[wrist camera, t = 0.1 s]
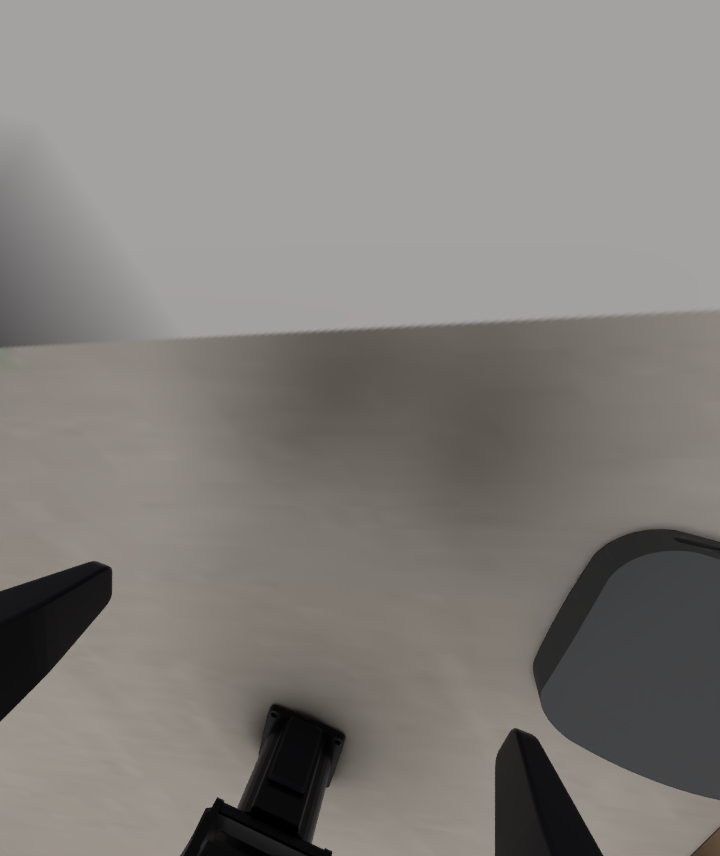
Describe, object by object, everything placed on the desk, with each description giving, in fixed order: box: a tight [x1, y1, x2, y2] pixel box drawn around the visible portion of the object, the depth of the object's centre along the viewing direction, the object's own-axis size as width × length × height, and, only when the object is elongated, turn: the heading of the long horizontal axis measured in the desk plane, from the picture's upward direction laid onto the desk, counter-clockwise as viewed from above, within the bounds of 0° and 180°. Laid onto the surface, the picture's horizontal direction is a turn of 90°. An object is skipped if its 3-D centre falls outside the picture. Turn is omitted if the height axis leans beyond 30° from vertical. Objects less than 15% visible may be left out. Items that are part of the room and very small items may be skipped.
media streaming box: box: [533, 530, 720, 800], centre depth 20 cm, size 15×15×3 cm
